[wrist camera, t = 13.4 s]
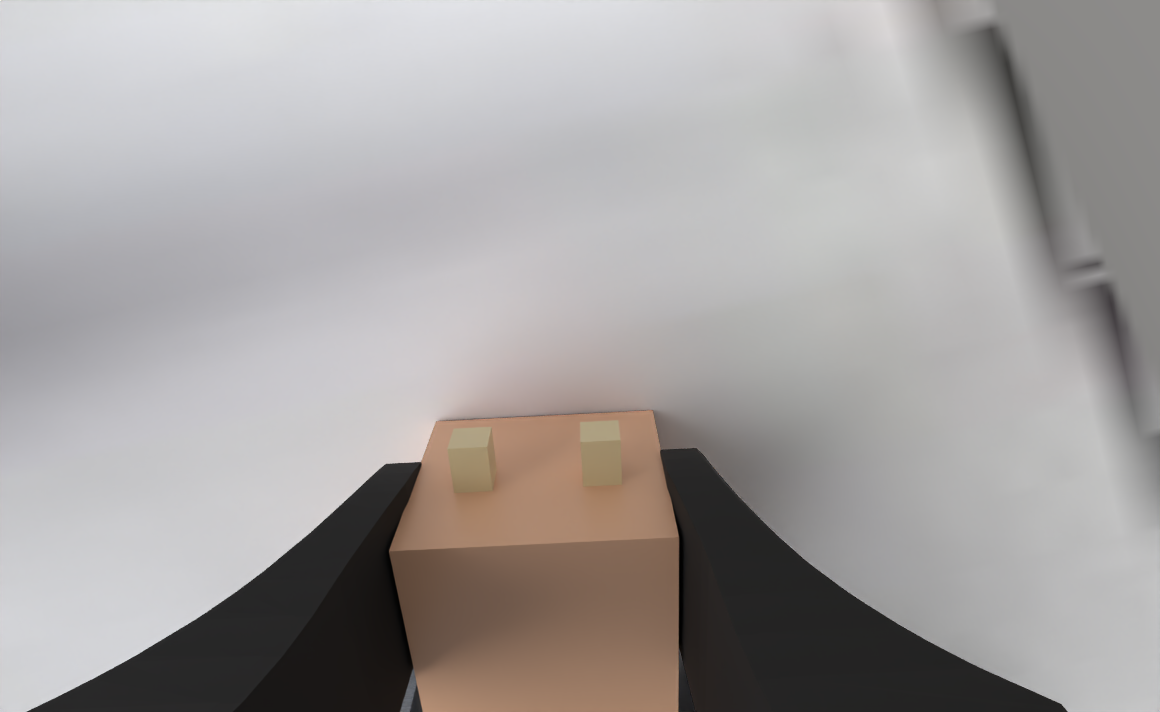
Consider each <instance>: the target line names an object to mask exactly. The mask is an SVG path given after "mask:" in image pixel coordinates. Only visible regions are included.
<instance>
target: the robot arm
mask: <svg viewBox="0 0 1160 712" xmlns="http://www.w3.org/2000/svg"><path fill="white" fill-rule="evenodd" d="M660 455H661V460H662V465H663V470H664V475H665V480H666V484H667V489H668V492H669V494H670V497H671V501H672V506H673V511H674V516H675V520H676V525H677V530H678V535H679V648H680V651H681V655H682V659H683V663H684V667H685V671H686V675H687V679H688V683H689V687H690V691H691V695H692V699H693V703H694V707H695V711H696V712H1067V710H1066V709H1065V708H1064V707H1063V706H1062V705H1061V704H1060V703H1057V702H1055V701H1053V700H1051V699H1048V698H1046V697H1044V696H1042V695H1039V694H1037V693H1035V692H1033V691H1030V690H1028V689H1026V688H1024V687H1021V686H1019V685H1017V684H1015V683H1012V682H1010V681H1008V680H1006V679H1003V678H1001V677H999V676H997V675H994V674H992V673H990V672H988V671H985V670H983V669H981V668H979V667H977V666H975V665H973V664H971V663H969V662H967V661H965V660H963V659H961V658H959V657H957V656H955V655H953V654H951V653H949V652H947V651H946V650H944V649H942V648H940V647H938V646H936V645H934V644H932V643H930V642H928V641H926V640H925V639H923V638H921V637H919V636H918V635H916V634H914V633H912V632H911V631H909V630H907V629H905V628H904V627H902V626H900V625H898V624H897V623H895V622H894V621H892V620H890V619H889V618H887V617H886V616H884V615H882V614H881V613H879V612H878V611H876V610H874V609H873V608H871V607H870V606H868V605H866V604H865V603H863V602H862V601H860V600H859V599H857V598H856V597H854V596H853V595H851V594H850V593H848V592H847V591H845V590H844V589H843V588H841V587H840V586H838V585H837V584H836V583H834V582H833V581H832V580H830V579H829V578H828V577H826V576H825V575H824V574H822V573H821V572H820V571H818V570H817V569H816V568H814V567H813V566H812V565H810V564H809V563H808V562H807V561H805V560H804V559H803V558H802V557H801V556H800V555H798V554H797V553H796V552H795V551H794V550H793V549H792V548H790V547H789V546H788V545H787V544H786V543H785V542H784V541H783V540H782V539H780V538H779V537H778V536H777V535H776V534H775V533H774V532H773V531H772V530H771V529H770V528H769V527H768V526H767V525H766V524H765V523H764V522H763V521H762V520H761V519H760V518H759V517H758V516H757V515H756V514H755V513H754V512H753V511H752V510H751V509H750V508H749V507H748V506H747V505H746V504H745V503H744V502H743V501H742V500H741V499H740V498H739V496H738V495H737V494H736V493H735V492H734V491H733V490H732V489H731V488H730V486H729V485H728V484H727V483H726V482H725V481H724V480H723V478H722V477H721V476H720V475H719V474H718V473H717V471H716V470H715V469H714V468H713V467H712V465H711V464H710V463H709V462H708V460H707V459H706V458H705V457H704V455H703V454H702V453H701V452H700V451H699V450H698V449H697V448H690V449H671V450H660ZM421 466H422V464H421V462H415V463H395V464H385V465H384V466H383V467H382V468H381V469H379V470H378V471H377V472H376V473H375V474H374V475H373V476H372V477H370V478H369V479H368V480H367V481H366V482H365V483H364V484H363V485H362V486H361V487H360V488H359V489H358V490H357V491H356V492H354V493H353V494H352V495H351V496H350V497H349V498H348V499H347V500H346V501H345V502H344V503H343V504H342V505H341V506H339V507H338V508H337V509H336V510H335V511H334V512H333V513H332V514H331V515H330V516H328V517H327V518H326V519H325V520H324V521H323V522H322V523H321V524H320V525H319V526H317V527H316V528H315V529H314V530H313V531H312V532H311V533H310V534H308V535H307V536H306V537H305V538H304V539H302V540H301V541H300V542H299V543H298V544H296V545H295V546H294V547H293V548H292V549H290V550H289V551H288V552H287V553H285V554H284V555H283V556H282V557H281V558H279V559H278V560H277V561H276V562H275V563H273V564H272V565H271V566H270V567H269V568H267V569H266V570H265V571H264V572H262V573H261V574H260V575H258V576H257V577H256V578H254V579H253V580H252V581H250V582H249V583H248V584H246V585H245V586H244V587H242V588H241V589H240V590H238V591H237V592H235V593H234V594H233V595H231V596H230V597H228V598H227V599H225V600H224V601H222V602H221V603H220V604H218V605H217V606H215V607H214V608H212V609H211V610H209V611H208V612H206V613H205V614H203V615H202V616H200V617H199V618H197V619H196V620H194V621H193V622H191V623H189V624H188V625H186V626H184V627H183V628H181V629H179V630H178V631H176V632H174V633H173V634H171V635H169V636H168V637H166V638H164V639H163V640H161V641H159V642H158V643H156V644H154V645H153V646H151V647H149V648H148V649H146V650H144V651H143V652H141V653H140V654H138V655H136V656H134V657H133V658H131V659H129V660H127V661H126V662H124V663H122V664H120V665H118V666H116V667H114V668H113V669H111V670H109V671H107V672H105V673H103V674H101V675H100V676H98V677H96V678H94V679H92V680H90V681H88V682H86V683H84V684H82V685H80V686H78V687H76V688H74V689H72V690H70V691H68V692H66V693H64V694H62V695H60V696H58V697H56V698H54V699H52V700H50V701H48V702H46V703H44V704H42V705H40V706H38V707H36V708H33V709H31V710H29V711H27V712H400V710H401V707H402V704H403V700H404V697H405V694H406V690H407V687H408V684H409V680H410V677H411V674H412V670H413V663H412V658H411V654H410V649H409V644H408V639H407V635H406V630H405V625H404V620H403V616H402V611H401V606H400V602H399V597H398V592H397V587H396V583H395V578H394V573H393V568H392V564H391V559H390V554H389V550H390V547H391V544H392V541H393V539H394V536H395V533H396V530H397V528H398V525H399V522H400V519H401V517H402V514H403V511H404V509H405V508H406V506H407V504H408V502H409V499H410V496H411V493H412V491H413V488H414V485H415V482H416V479H417V477H418V474H419V471H420V468H421Z"/></svg>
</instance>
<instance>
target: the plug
mask: <svg viewBox="0 0 1160 712" xmlns="http://www.w3.org/2000/svg"><path fill="white" fill-rule="evenodd" d="M660 450H661V448H660V443H659V438H658V433H657V429H656V424H655V419H654V414H653V410H648V411H628V412H609V413H590V414H570V415H551V416H532V417H512V418H493V419H474V420H454V421H436V423H435V426H434V428H433V431H432V434H431V437H430V439H429V442H428V445H427V448H426V450H425V453H424V456H423V459H422V461H421V464H422V466H421V468H420V471H419V474H418V477H417V479H416V482H415V485H414V488H413V491H412V493H411V496H410V499H409V502H408V504H407V506H406V508H405V509H404V511H403V514H402V517H401V519H400V522H399V525H398V528H397V530H396V533H395V536H394V539H393V541H392V544H391V547H390V550H389V554H390V559H391V564H392V568H393V573H394V578H395V583H396V587H397V592H398V597H399V602H400V606H401V611H402V616H403V620H404V625H405V630H406V635H407V639H408V644H409V649H410V654H411V658H412V663H413V668H414V673H415V677H416V682H417V687H418V691H419V696H420V701H421V706H422V710H423V712H678V695H679V535H678V530H677V525H676V520H675V516H674V511H673V506H672V501H671V497H670V494H669V492H668V489H667V484H666V480H665V475H664V470H663V465H662V460H661V455H660Z"/></svg>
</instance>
